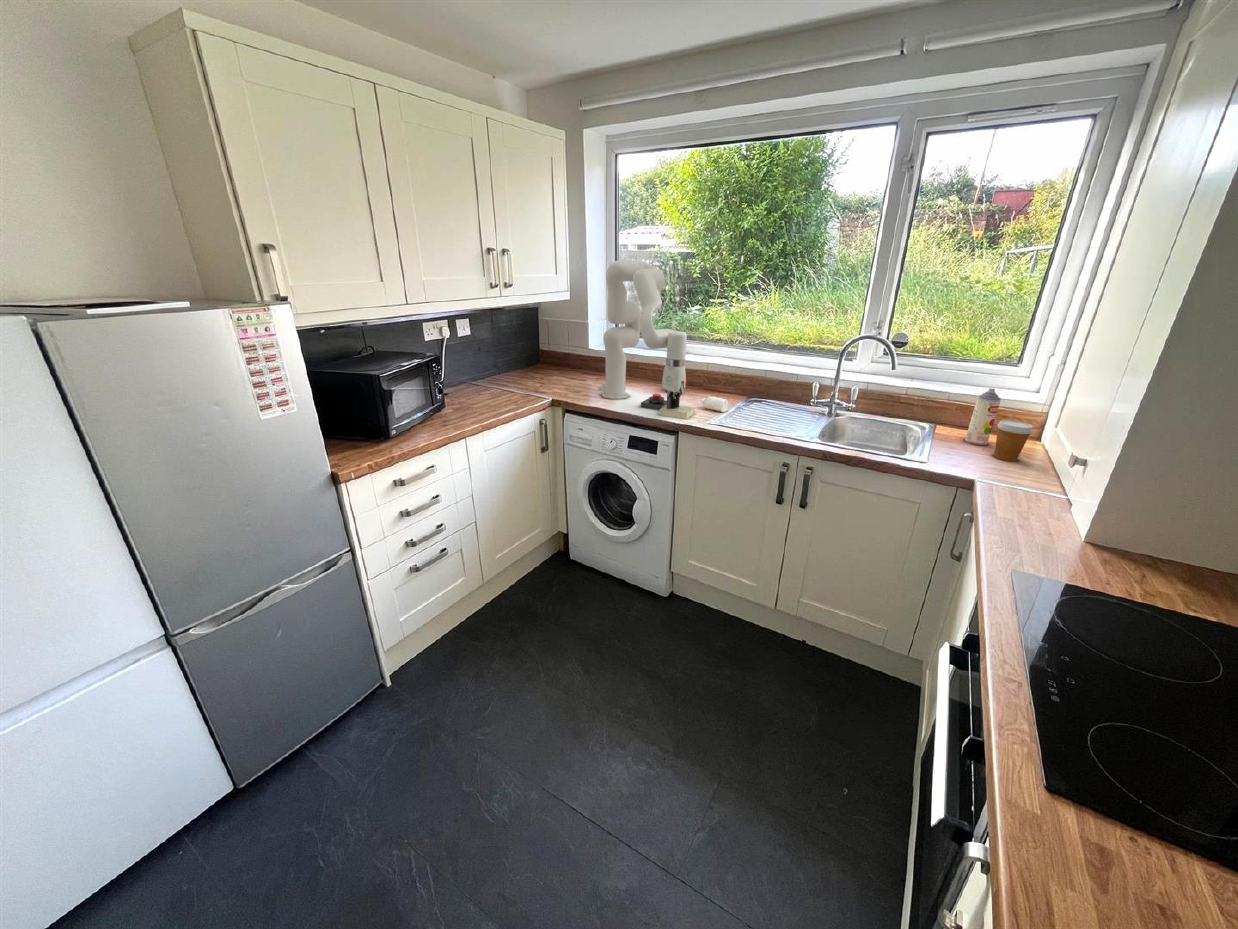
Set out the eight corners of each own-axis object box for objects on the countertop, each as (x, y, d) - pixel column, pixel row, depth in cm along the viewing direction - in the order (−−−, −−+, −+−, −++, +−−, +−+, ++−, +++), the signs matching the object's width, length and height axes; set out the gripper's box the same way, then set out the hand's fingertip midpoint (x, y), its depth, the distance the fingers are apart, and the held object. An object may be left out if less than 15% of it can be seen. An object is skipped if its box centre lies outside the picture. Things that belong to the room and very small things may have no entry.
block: (640, 407, 218) (641, 398, 216) (648, 402, 225) (648, 394, 224) (664, 410, 214) (664, 401, 212) (671, 405, 221) (672, 397, 220)
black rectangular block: (669, 408, 207) (669, 396, 205) (666, 407, 208) (667, 395, 206) (679, 407, 210) (680, 395, 208) (676, 406, 211) (677, 394, 209)
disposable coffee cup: (1024, 465, 161) (1036, 429, 157) (988, 459, 166) (999, 424, 162) (1020, 456, 169) (1032, 422, 165) (987, 451, 174) (997, 418, 169)
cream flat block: (657, 414, 207) (657, 408, 206) (665, 409, 216) (666, 403, 215) (686, 419, 202) (687, 412, 201) (694, 413, 211) (694, 407, 210)
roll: (703, 405, 223) (704, 393, 221) (727, 410, 216) (729, 397, 214) (696, 408, 219) (697, 395, 217) (721, 413, 212) (722, 400, 210)
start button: (651, 399, 217) (651, 395, 217) (654, 397, 220) (654, 393, 220) (659, 400, 216) (659, 396, 215) (661, 398, 219) (662, 394, 218)
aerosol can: (979, 446, 178) (996, 391, 171) (960, 440, 184) (976, 387, 177) (991, 444, 181) (1008, 390, 174) (972, 438, 187) (987, 385, 179)
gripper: (656, 360, 206) (654, 403, 213) (681, 366, 194) (678, 412, 201) (670, 359, 210) (667, 401, 217) (695, 365, 198) (692, 410, 205)
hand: (672, 406), depth 209 cm, fingers closed on black rectangular block, 2 cm apart
